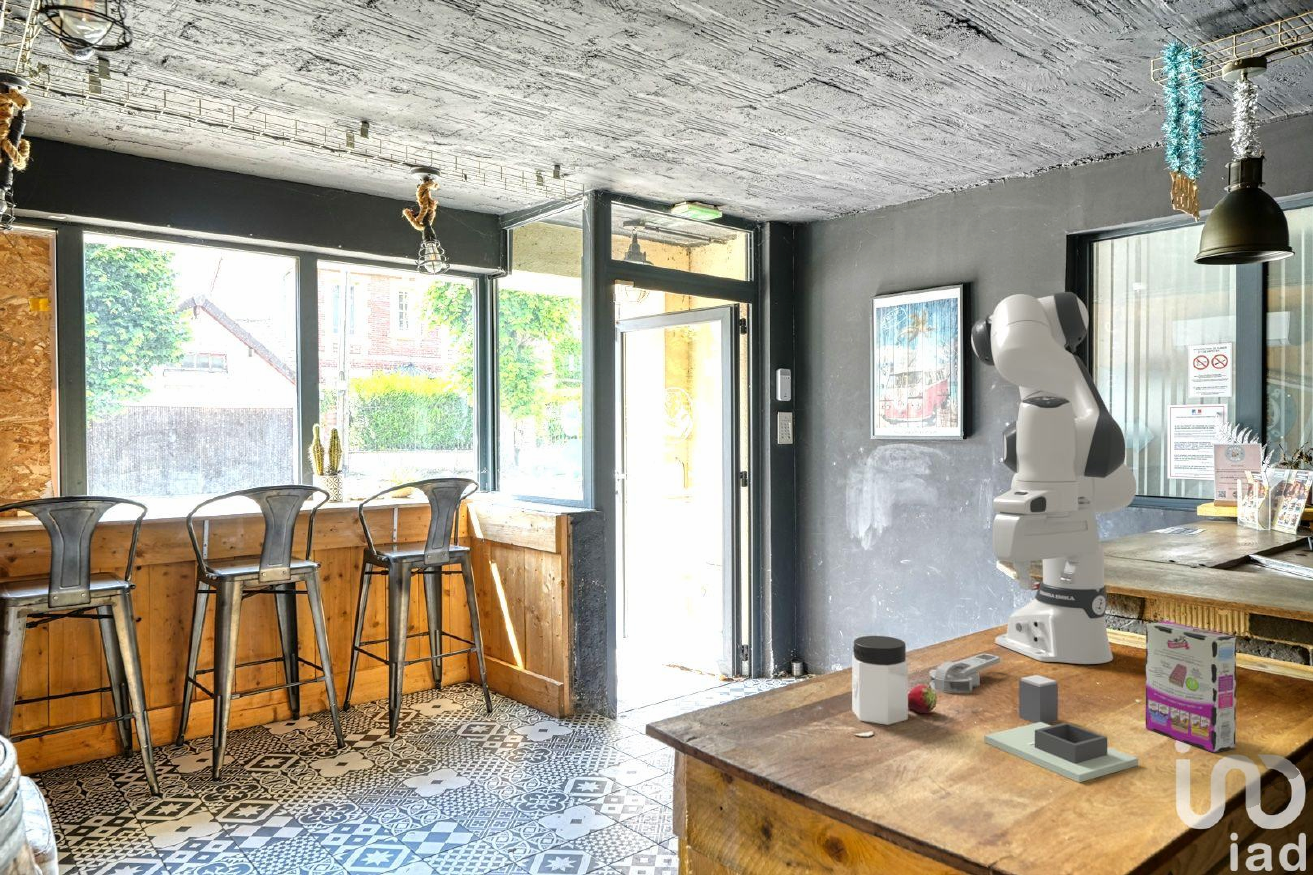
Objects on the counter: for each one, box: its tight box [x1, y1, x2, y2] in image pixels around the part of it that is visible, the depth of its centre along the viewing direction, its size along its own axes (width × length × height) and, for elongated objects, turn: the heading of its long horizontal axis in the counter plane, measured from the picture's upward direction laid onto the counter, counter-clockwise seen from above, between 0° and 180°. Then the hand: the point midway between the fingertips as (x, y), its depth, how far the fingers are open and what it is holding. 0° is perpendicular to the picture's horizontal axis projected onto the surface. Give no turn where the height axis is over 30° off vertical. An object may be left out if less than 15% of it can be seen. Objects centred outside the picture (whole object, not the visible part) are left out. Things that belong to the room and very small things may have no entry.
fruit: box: [908, 683, 938, 714], centre depth 143 cm, size 4×6×5 cm
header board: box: [983, 722, 1139, 783], centre depth 125 cm, size 16×12×4 cm
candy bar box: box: [1145, 620, 1237, 753], centre depth 130 cm, size 11×5×16 cm, turn 23°
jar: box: [851, 635, 909, 726], centre depth 141 cm, size 9×8×12 cm
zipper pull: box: [928, 652, 1001, 694], centre depth 159 cm, size 8×18×4 cm, turn 130°
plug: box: [1018, 674, 1059, 725], centre depth 139 cm, size 4×4×6 cm
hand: (1048, 586), depth 139 cm, fingers open, 8 cm apart
